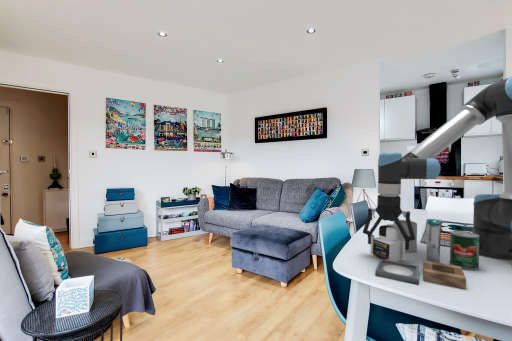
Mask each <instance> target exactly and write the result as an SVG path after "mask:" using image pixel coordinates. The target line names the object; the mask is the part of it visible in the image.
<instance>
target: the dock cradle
mask: <svg viewBox="0 0 512 341" xmlns="http://www.w3.org/2000/svg"><path fill="white" fill-rule="evenodd" d="M374 272H375V273H374V274H375V275H374V276H376V277H381V278H386V279H391V280H394V281H400V282H404V283H409V284H414V285H418V286H419V285H420V265H416V264H410V263H405V262H401V261H397V262H395V261H390V260H384V259H378V262H377V265H376V269H375V270H374Z"/></svg>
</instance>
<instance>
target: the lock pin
mask: <svg viewBox="0 0 512 341" xmlns="http://www.w3.org/2000/svg"><path fill="white" fill-rule="evenodd" d="M442 224H443V220H441V219H436V218H427V219H426V225H427V226H426V259H425V261H431V262H437V263H441V242H442V241H441V239H442V238H441V237H442V236H441V235H442V233H441V232H442Z"/></svg>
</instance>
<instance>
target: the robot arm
mask: <svg viewBox="0 0 512 341" xmlns="http://www.w3.org/2000/svg"><path fill="white" fill-rule="evenodd" d="M459 110H460V111H459V112H458V113H456V114H455V115H453V117H451V118H450V119H449V120H447V121H446V122H445V123H444V124H443V125H441V126H440V127H439V128H438V129H436V130H435V131H434V132H433V133H431V134H430V135H429V136H427V137H426V138H425V139H424V140H422V141H421V142H420V143H419V144H417V145H416V146H415V147H413V148H412V149H411V150H410V151H409V152H407V153H406V154H404V155H402V153H401V152H381V153H380V154H378V160H377V161H378V163H377V178H378V179H377V194H378V195H377V200H376V201H377V202H376V205H377V206H376V208H375V207H373V208H372V207H368V209H367V214H368V215H367V217H366V221H365V223H364V227H363V230H362V233H363V234H365V235H367V245H370V254H371V255H373V238H375V235H374V234H373V233H374V232H375V230H376V229H377V228H378V226H379V224H380V223H381V222H382V220H383V221H389V222H395V223H396V225H397V226H398V228H399V230H400V232H401V234H402V235H403V237H404V239H403V251H402V259H403V260H404V261H405V260H406V252H405V250H409V241H411V240H415V235H414V231H413V227H412V224H411V221H412V220H411V218H410V217H411V212H410V210H407V211H405V210H402V208H401V202H402V201H401V199H402V198H401V196H400V195H402V194H401V193H402V192H401V191H402V190H401V189H402V180H435V179H437V178H438V177H439V176H440V174H441V173H440V172H441V163H440V162H439V160H438V159H437V158H436V157H437V156H438V155H440V154H441V153H442V152H444V151H445V150H446V149H447V148H448V147H450V146H451V145H452V144H453V143H455V142H456V141H458V140H459V139H460V138H462V137H463V136H464V135H465V134H467V133H468V132H469V131H471V130H472V129H473V128H475V126H480V125H482V124H484V123H486V122H487V121H489V120H490V119H492V118H494V117H495V120H497V121H498V122H500V123H501V136H502V137H501V138H502V159H503V160H502V161H503V181H504V182H503V183H504V184H503V185H504V186H503V187H504V189H503V190H504V191H503V192H502V193H500V194H499V193H498V194H497V193H495V194H493V193H491V194H487V193H486V194H484V193H483V194H481V193H480V194H479V193H478V194H476V195H475V196H474V198H473V221H472V222H473V223H472V225H473V226H472V232H471V233H474V234H477V235H479V256H483V257H488V258H493V259H499V260H500V259H501V260H512V76H510V77H506V78H504V79H503V80H499V81H497V82H494V83H492V84H489V85H488V86H486V87H484V88H483V89H482V90H480V91H479V92H478V93H477V94H475V95H474V96H473V97H472V98H470V99H469V100H468V101H467V102H466V103H465V104H463V105H461V107H460V109H459ZM375 213H376V214H377V215H378V216H379V217H377V218H378V219H376V221H375V222H374V223H373V225H372V227H371V229H369V227H370V224H371V221H372V218H373V215H374V214H375ZM401 215H402V216H403V218H405V220H406V222H407V226H408V230H409V233H410V236H408V235H407V233H406V231H405V229H404V228H403V226H402V224H401V222H400V220H401V219H399V217H400V216H401ZM403 260H402V261H403Z"/></svg>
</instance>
